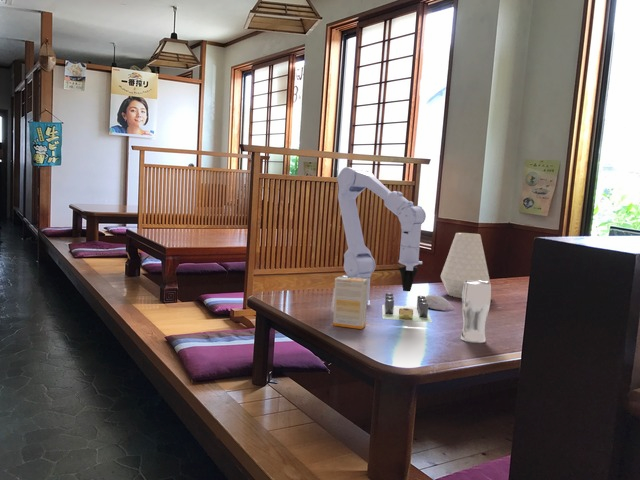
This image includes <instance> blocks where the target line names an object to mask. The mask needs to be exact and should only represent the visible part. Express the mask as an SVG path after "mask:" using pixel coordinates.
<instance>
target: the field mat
mask: <svg viewBox="0 0 640 480" xmlns="http://www.w3.org/2000/svg"><path fill="white" fill-rule="evenodd" d="M400 308H409V309H413V319H411V320H404V319H400V318H399V309H400ZM381 311H382V312H381V313H382V315H381V317H382V319H383V320H393V321H407V322H417V323H418V322H419V323H433V320H432V318H431V315H430V313H429V312H428V317H427V318H422V317H419V313H418V309H417V306H405V305H394V309H393V314H385V304H382V307H381Z"/></svg>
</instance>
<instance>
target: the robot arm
mask: <svg viewBox="0 0 640 480" xmlns="http://www.w3.org/2000/svg"><path fill="white" fill-rule="evenodd" d="M336 180H337V183H338V184H337V185H338V191H337V192H338V193H337V200H338V205H339V209H340V214H341V218H342V224H343V230H344V234H345V240H346V245H347V249H346V251H345V253H343V259H344V261H343V262H344V263H343V270H344V272H345V273H346V275H342V276H343V277H353V278H364V279H368V286H367V306H370V305H371V300H370V287H371V286H370V285H371V284H370V283H371V277H372V273H373V272H374V271H375V270H376V266H377V265H376V261H375V258H374V257H373V255H372V253H371V250H370V249H369V248H368V247H367V246H366V245H365V240H364V235H363V230H362V225H361V221H360V215H359V211H358V206H357V202H356V199H357V198H358V196H359V195H360V194H361V193H362V192H363V191H365V189H368V190H369V191H371V192H372V193H374V194H375V195H376V196H378V197H380V198H381V199H382V200H383V201H384V202H383V205H384V207H386V208H387V209H388V210H389V211H390V212H392V213H393V214H394V215H395V216H397V218H398V221H399V223H400V229H401V230H400V231H401V234H400V246H399V248H400V249H399V259H398V263H399V264H401V265H403V266H398V270H399V272H400V276H401V285H402V291H403V292H411V290H412V286H413V283H414V279H415V277H416V275H417V273H418V272H419V270H418V267H417V266H418V265H423V261H422V260H421V261H420V259H419V258H420V246H421V234H422V233H421V232H422V225H423V223H425V221H426V212H425V210H424V208H423V207H422V206H420V205H415V204H414V202H413V201H412V200H408V199H407V198H406V197H404V196H403V195H404V193H403V192H402V191H397V190H394V191H391V190H390V189H389V188H388V187H387V186H386V185H384V184H383V183H382V182H381V181H380V180H379V179H378V178H377V177H376V176H375V175H374V173H372V172H370V171H369V169H366V168H355V167H354V168H353V167H349V166H347V167H344V168H342V169H341V170H340V171H339V174H338V176H337V178H336Z"/></svg>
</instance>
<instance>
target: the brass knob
mask: <svg viewBox="0 0 640 480" xmlns="http://www.w3.org/2000/svg"><path fill="white" fill-rule="evenodd" d="M399 318H400V319H404V320H411V319H413V309H409V308H400V309H399ZM404 320H403V321H404Z"/></svg>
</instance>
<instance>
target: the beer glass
mask: <svg viewBox="0 0 640 480" xmlns="http://www.w3.org/2000/svg"><path fill="white" fill-rule="evenodd" d="M491 286H492V284H491V282H490V281H489V282H485V281H478V280H465V281H464V287H463V293H462V298H461V308H462V309H461V310H462V317H463V318H462V321H463V325H462V331H461V336H460V340H461V341H463V342H466V343H471V344H484V343H486V330H485V329H486V323H487V318H488V314H489V311H490V307H491V301H492V300H491V299H492V298H491V297H492V296H491V295H492V287H491Z"/></svg>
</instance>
